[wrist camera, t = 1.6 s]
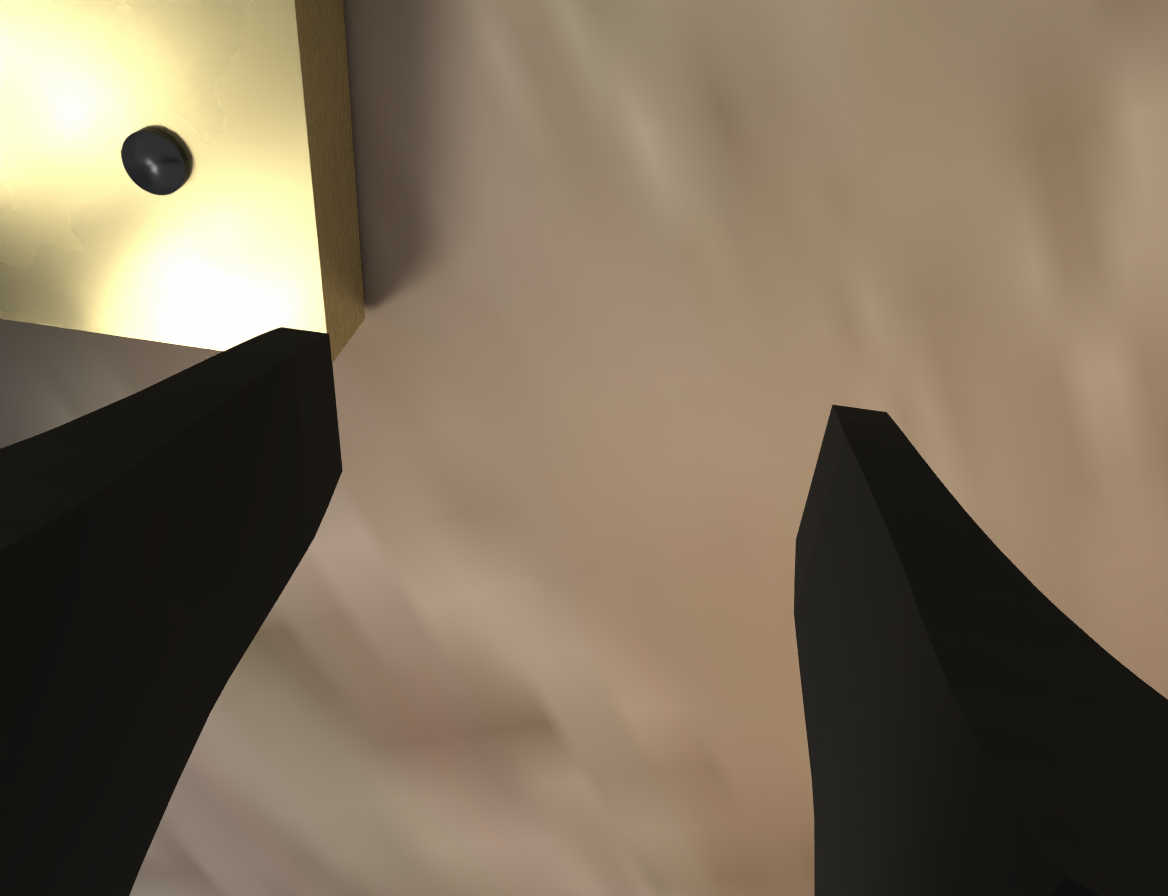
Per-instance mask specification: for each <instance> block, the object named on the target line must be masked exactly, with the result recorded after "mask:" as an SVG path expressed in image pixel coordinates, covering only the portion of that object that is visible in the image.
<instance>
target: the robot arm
mask: <svg viewBox="0 0 1168 896" xmlns="http://www.w3.org/2000/svg"><path fill="white" fill-rule="evenodd" d="M341 473H342V461H341V451H340V440H339V430H338V419H337V409H336V398H335V388H334V377H333V367H332V356H331V346H330V335H329V334H328V333H321V332H314V331H307V330H300V329H293V328H286V327H279V328H276V329H273V330H270V331H268V332H265V333H263V334H260V335H258V336H255V337H253V338H251V339H249V340H246V341H244V342H242V343H240V344H238V345H236V346H233V347H231V348H229V349H227V350H225V351H223V352H221V353H219V354H217V355H215V356H213V357H211V358H208V359H206V360H204V361H202V362H200V363H198V364H196V365H194V366H192V367H190V368H188V369H186V370H184V371H181V372H179V373H177V374H175V375H173V376H171V377H169V378H167V379H165V380H163V381H161V382H158V383H156V384H154V385H152V386H150V387H148V388H146V389H144V390H142V391H140V392H137V393H135V394H133V395H131V396H128V397H126V398H124V399H121V400H119V401H117V402H114V403H112V404H110V405H108V406H105V407H103V408H101V409H98V410H96V411H94V412H91V413H89V414H87V415H84V416H82V417H80V418H78V419H75V420H73V421H71V422H68V423H66V424H64V425H61V426H59V427H57V428H54V429H52V430H49V431H47V432H44V433H41V434H39V435H36V436H34V437H31V438H28V439H26V440H23V441H20V442H18V443H15V444H12V445H10V446H7V447H4V448H1V449H0V896H129V895H130V892H131V890H132V887H133V885H134V882H135V880H136V877H137V875H138V872H139V870H140V867H141V865H142V863H143V860H144V858H145V856H146V853H147V851H148V849H149V846H150V844H151V842H152V840H153V837H154V835H155V833H156V830H157V828H158V826H159V824H160V821H161V819H162V817H163V814H164V812H165V810H166V808H167V805H168V803H169V801H170V798H171V796H172V794H173V791H174V789H175V787H176V785H177V783H178V780H179V778H180V776H181V774H182V772H183V770H184V768H185V765H186V763H187V761H188V759H189V757H190V755H191V753H192V750H193V748H194V746H195V744H196V742H197V740H198V738H199V736H200V733H201V731H202V729H203V727H204V725H205V723H206V721H207V718H208V716H209V714H210V712H211V710H212V709H213V707H214V705H215V703H216V701H217V699H218V698H219V696H220V694H221V692H222V690H223V689H224V687H225V685H226V683H227V681H228V679H229V678H230V676H231V674H232V673H233V671H234V670H235V668H236V666H237V665H238V663H239V661H240V660H241V658H242V656H243V655H244V653H245V652H246V650H247V648H248V647H249V645H250V643H251V642H252V640H253V639H254V637H255V635H256V634H257V632H258V630H259V629H260V627H261V625H262V624H263V622H264V621H265V619H266V617H267V616H268V614H269V612H270V611H271V609H272V607H273V606H274V604H275V603H276V601H277V599H278V598H279V596H280V594H281V593H282V591H283V589H284V588H285V586H286V585H287V583H288V581H289V579H290V578H291V576H292V574H293V573H294V571H295V569H296V568H297V566H298V564H299V563H300V561H301V559H302V558H303V556H304V554H305V553H306V551H307V549H308V548H309V546H310V544H311V542H312V541H313V539H314V537H315V535H316V533H317V531H318V528H319V526H320V524H321V521H322V519H323V517H324V515H325V512H326V510H327V508H328V505H329V503H330V500H331V498H332V495H333V493H334V490H335V488H336V485H337V483H338V480H339V478H340V475H341ZM794 617H795V628H796V638H797V647H798V657H799V667H800V676H801V685H802V694H803V703H804V712H805V721H806V730H807V739H808V749H809V758H810V767H811V776H812V788H813V804H814V838H815V896H1168V700H1167V699H1166V698H1165V697H1163V696H1162V695H1161V694H1159V693H1158V692H1157V691H1155V690H1154V689H1153V688H1152V687H1150V686H1149V685H1148V684H1146V683H1145V682H1144V681H1142V680H1141V679H1140V678H1138V677H1137V676H1136V675H1135V674H1133V673H1132V672H1131V671H1130V670H1129V669H1127V668H1126V667H1125V666H1124V665H1122V664H1121V663H1120V662H1119V661H1117V660H1116V659H1115V658H1114V657H1113V656H1111V655H1110V654H1109V653H1108V652H1107V651H1105V650H1104V649H1103V648H1102V647H1101V646H1100V645H1099V644H1098V643H1096V642H1095V641H1094V640H1093V639H1092V638H1091V637H1090V636H1088V635H1087V634H1086V633H1085V632H1084V631H1083V630H1082V629H1081V628H1079V627H1078V626H1077V625H1076V624H1075V623H1074V622H1073V621H1072V620H1070V619H1069V618H1068V617H1067V616H1066V615H1065V614H1064V613H1063V612H1061V611H1060V610H1059V609H1058V608H1057V607H1056V606H1055V605H1054V604H1053V603H1052V602H1051V601H1050V600H1049V599H1048V598H1047V597H1046V596H1044V595H1043V594H1042V593H1041V592H1040V591H1039V590H1038V589H1037V588H1036V587H1035V586H1034V585H1033V584H1032V583H1031V582H1030V581H1029V580H1028V579H1027V578H1026V577H1025V575H1024V574H1023V573H1022V572H1021V571H1020V570H1019V569H1018V568H1017V567H1016V566H1015V565H1014V564H1013V563H1012V562H1011V561H1010V560H1009V559H1008V558H1007V557H1006V556H1005V555H1004V554H1003V553H1002V552H1001V550H1000V549H999V548H998V547H997V546H996V545H995V544H994V543H993V542H992V541H991V540H990V538H989V537H988V536H987V535H986V534H985V533H984V532H983V531H982V529H981V528H980V527H979V526H978V525H977V524H976V523H975V522H974V520H973V519H972V518H971V517H970V516H969V515H968V513H967V512H966V511H965V510H964V509H963V507H962V506H961V505H960V504H959V503H958V501H957V500H956V499H955V498H954V497H953V495H952V494H951V493H950V492H949V491H948V489H947V488H946V487H945V486H944V484H943V483H942V482H941V481H940V479H939V478H938V477H937V476H936V474H935V473H934V472H933V471H932V469H931V468H930V467H929V466H928V464H927V463H926V462H925V460H924V459H923V458H922V457H921V455H920V454H919V453H918V451H917V450H916V449H915V448H914V446H913V445H912V444H911V442H910V441H909V440H908V439H907V437H906V436H905V435H904V433H903V432H902V431H901V429H900V428H899V427H898V426H897V424H896V423H895V422H894V421H893V419H892V418H891V417H890V416H889V415H888V413H887V412H881V411H874V410H867V409H860V408H853V407H845V406H838V405H832V409H831V412H830V416H829V420H828V423H827V427H826V431H825V434H824V438H823V442H822V446H821V449H820V453H819V457H818V460H817V464H816V468H815V472H814V475H813V479H812V483H811V486H810V490H809V494H808V497H807V501H806V505H805V509H804V512H803V516H802V520H801V523H800V527H799V531H798V534H797V538H796V555H795V588H794Z"/></svg>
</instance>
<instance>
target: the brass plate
mask: <svg viewBox="0 0 1168 896" xmlns="http://www.w3.org/2000/svg"><path fill="white" fill-rule="evenodd" d="M0 319H5V320H12V321H19V322H26V323H33V324H40V325H47V326H54V327H61V328H67V329H74V330H81V331H88V332H95V333H102V334H109V335H116V336H123V337H130V338H137V339H144V340H151V341H158V342H165V343H172V344H179V345H186V346H192V347H199V348H206V349H213V350H220V351H225V350H227V349H229V348H231V347H233V346H236V345H238V344H240V343H242V342H244V341H246V340H249V339H251V338H253V337H255V336H258V335H260V334H263V333H265V332H268V331H270V330H273V329H276V328H279V327H286V328H293V329H300V330H307V331H314V332H321V333H328V334H329V335H330V346H331V356H332V363H333V361H334V360H335V359H336V357H337V356H338V354H339V353H340V352H341V350H342V349H343V348H344V346H345V345H346V344H347V342H348V341H349V340H350V338H351V337H352V335H353V334H354V333H355V331H356V330H357V329H358V327H359V326H360V325H361V323H362V322H363V321H364V319H365V310H364V295H363V281H362V266H361V252H360V237H359V223H358V208H357V194H356V180H355V165H354V151H353V136H352V122H351V107H350V93H349V79H348V64H347V50H346V35H345V21H344V6H343V0H0Z"/></svg>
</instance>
